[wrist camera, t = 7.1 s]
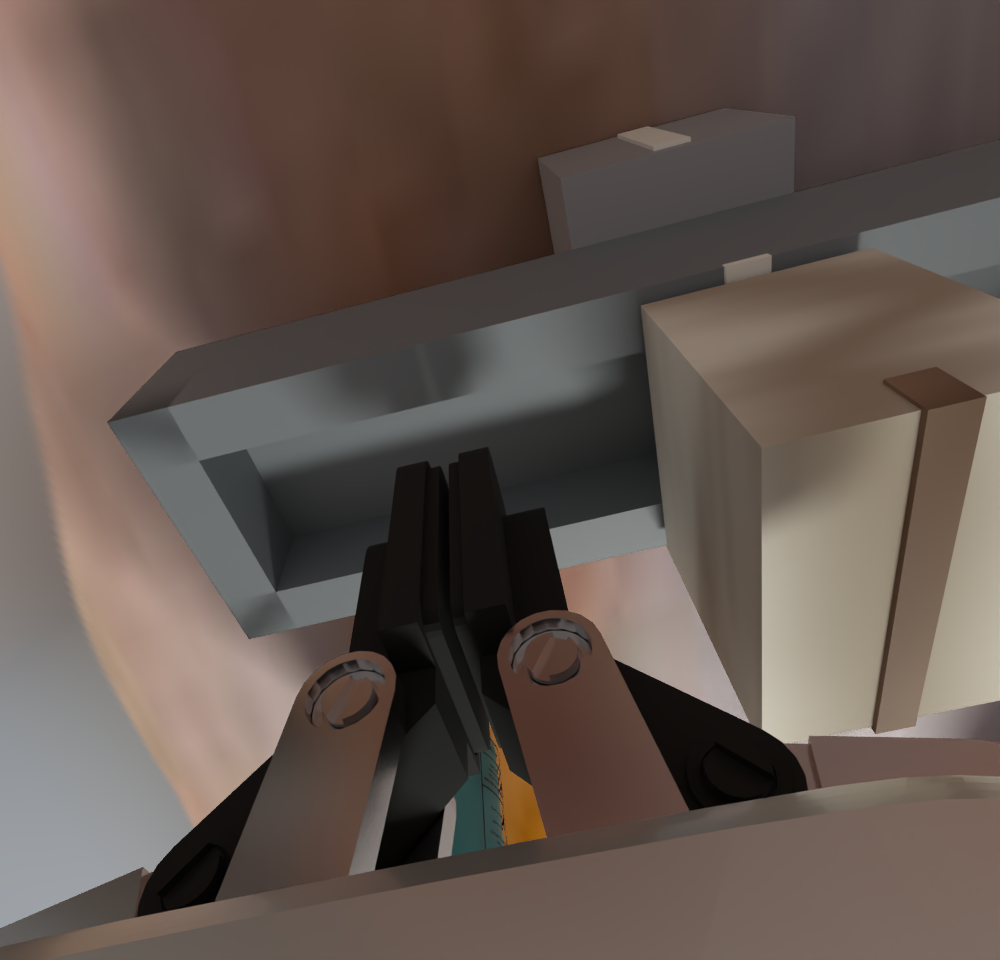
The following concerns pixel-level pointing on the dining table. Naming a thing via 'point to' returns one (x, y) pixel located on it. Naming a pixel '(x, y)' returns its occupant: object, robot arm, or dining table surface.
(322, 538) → the beam
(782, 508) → the rider
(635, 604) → the dining table surface
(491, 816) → the beverage bottle
